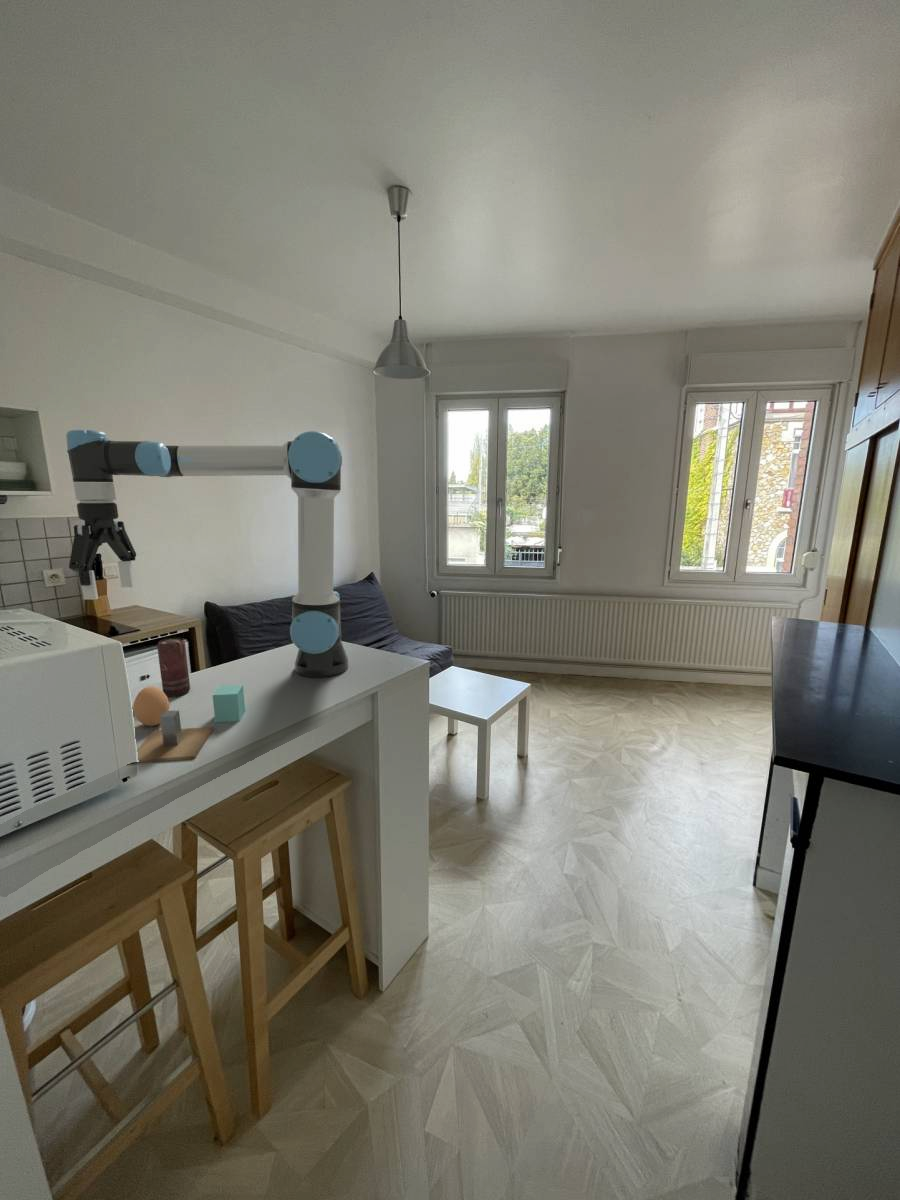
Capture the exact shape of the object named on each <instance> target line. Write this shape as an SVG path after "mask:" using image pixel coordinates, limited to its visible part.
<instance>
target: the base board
mask: <svg viewBox="0 0 900 1200" xmlns="http://www.w3.org/2000/svg"><path fill="white" fill-rule="evenodd" d="M214 729H215V728H214V726H208V727H192V728H191V727H190V728H181V732H182V740H181V742H180V743H179V744H178V745H176V746H164V744H163V736H162V729H158V730H153V731H152V732H151V733H150V734H149V735H148V736H147V738H146V739H145V740H144V741H143V742H142V744H140V746H139V747H137V749H136V750H137V752H138V760H139V763H140V764H141V763H153V762H165V761H166V762H167V761H180V760H181V761H183V760H184V761H185V760H195V759H196V758H197V756H198V755H199V753H200V751H201V750H202V749H203V747H204V745H205V743H206V742H207V740H208V739H209V737H210V736H211V734H212V732H213V731H214ZM139 763H138V764H139Z"/></svg>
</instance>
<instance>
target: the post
mask: <svg viewBox="0 0 900 1200" xmlns="http://www.w3.org/2000/svg"><path fill="white" fill-rule="evenodd" d="M180 715H181V714H180V711H179V710H169V711H165V712H164V713H163V714H162V715H161V717H160V721H161V723H160V726H161V730H162V736H163V744H164V746H176V745H178V744H179V743H180V742H181V740H182V732H181V729H182V725H181V716H180Z"/></svg>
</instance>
